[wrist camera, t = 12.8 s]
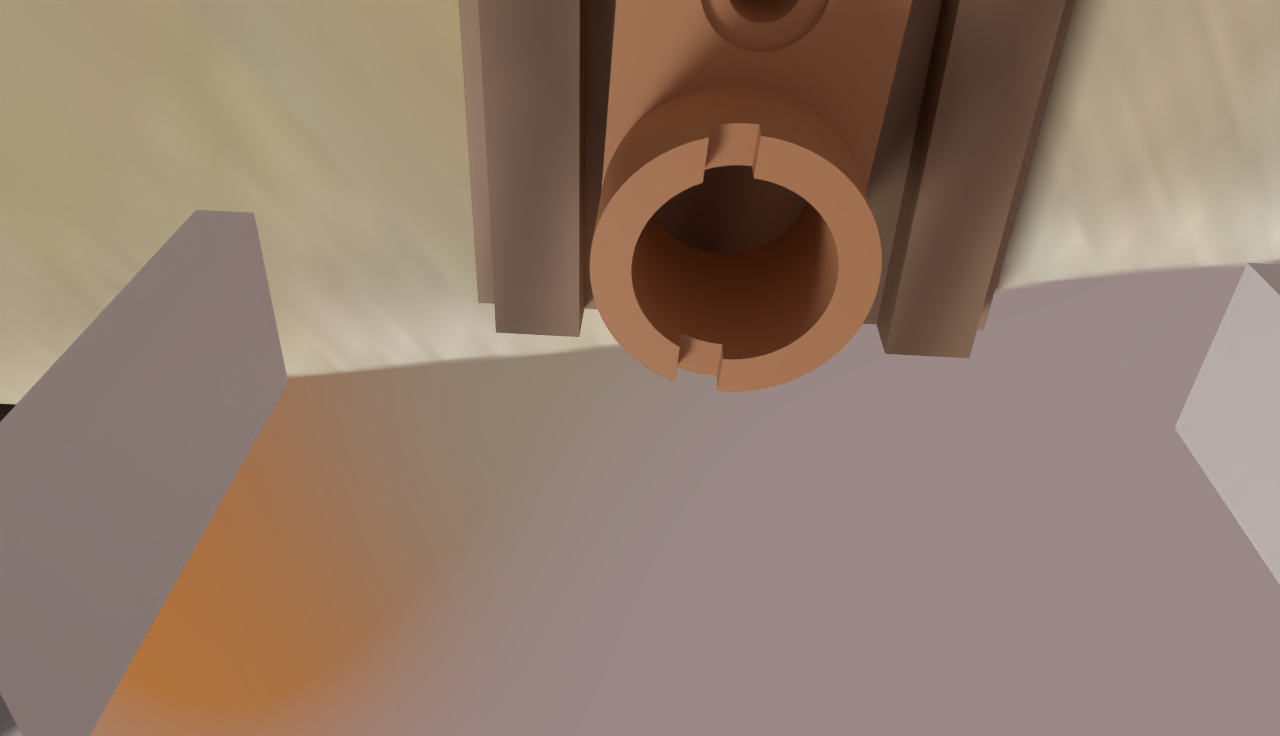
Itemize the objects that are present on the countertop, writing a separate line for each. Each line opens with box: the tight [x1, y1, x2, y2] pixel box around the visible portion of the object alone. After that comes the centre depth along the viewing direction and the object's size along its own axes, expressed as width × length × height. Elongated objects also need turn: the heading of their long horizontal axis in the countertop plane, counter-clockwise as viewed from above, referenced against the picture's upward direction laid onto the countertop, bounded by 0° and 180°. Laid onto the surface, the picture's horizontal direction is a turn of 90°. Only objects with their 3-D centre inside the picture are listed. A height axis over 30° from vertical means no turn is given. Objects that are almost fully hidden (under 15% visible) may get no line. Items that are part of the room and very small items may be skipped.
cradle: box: [459, 0, 1074, 358], centre depth 30 cm, size 19×22×3 cm
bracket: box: [590, 0, 912, 392], centre depth 28 cm, size 18×8×7 cm, turn 175°
